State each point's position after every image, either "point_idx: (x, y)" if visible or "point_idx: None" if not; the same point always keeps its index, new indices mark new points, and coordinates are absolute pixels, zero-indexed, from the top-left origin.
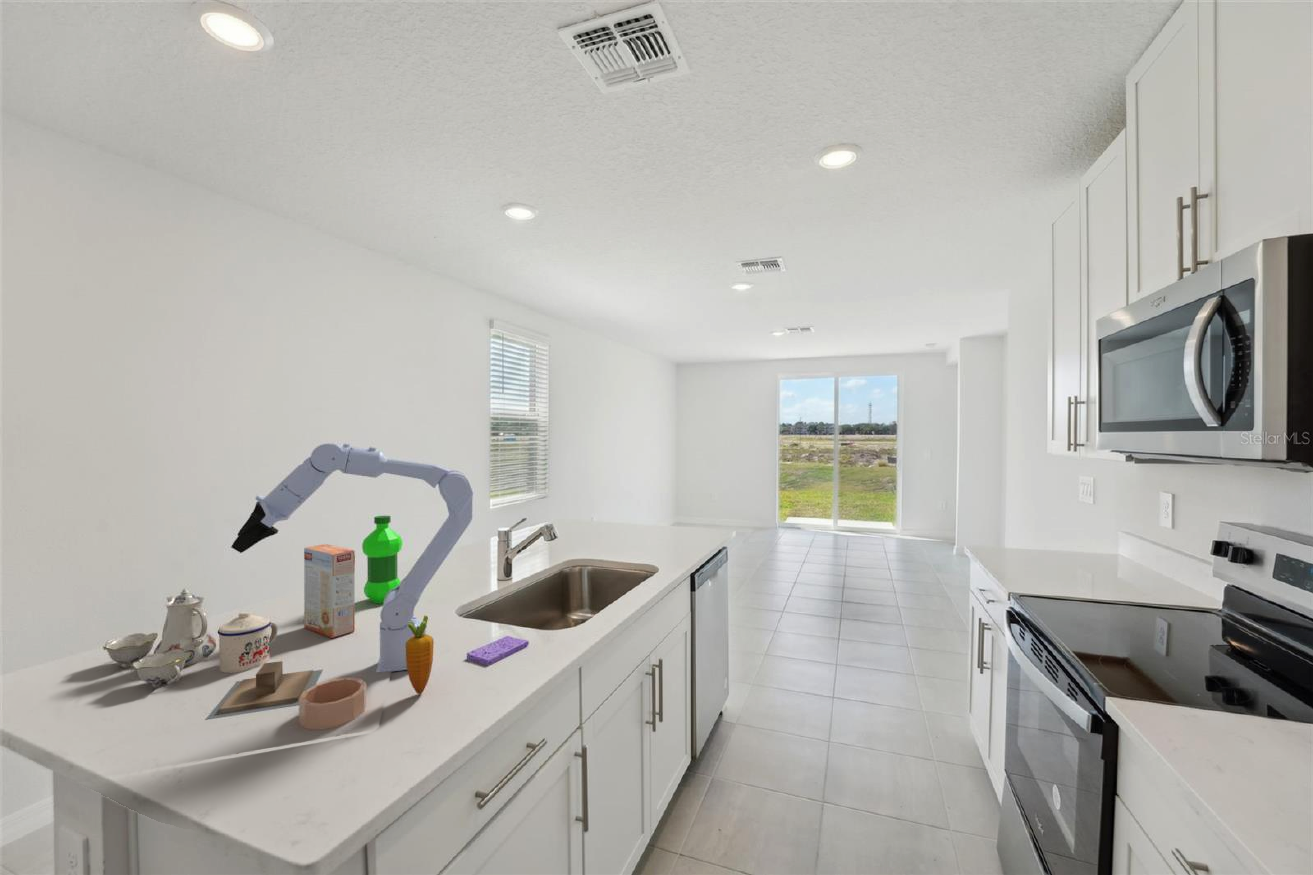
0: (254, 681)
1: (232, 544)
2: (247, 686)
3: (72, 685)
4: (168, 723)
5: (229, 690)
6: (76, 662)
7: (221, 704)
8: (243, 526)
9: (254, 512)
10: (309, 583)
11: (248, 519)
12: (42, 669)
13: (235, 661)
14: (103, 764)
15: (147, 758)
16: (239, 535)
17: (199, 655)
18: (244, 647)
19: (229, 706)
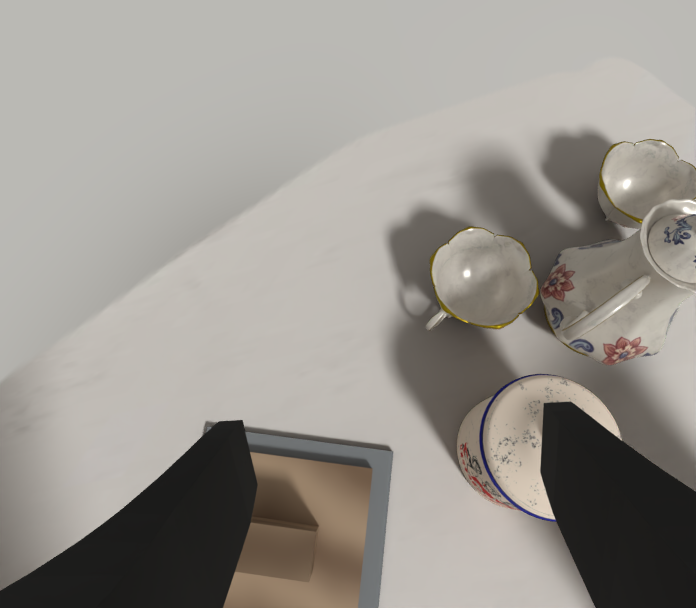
0: (345, 498)
1: (213, 428)
2: (321, 486)
3: (530, 151)
4: (246, 360)
5: (343, 445)
6: (662, 118)
7: (269, 443)
8: (579, 447)
9: (690, 593)
10: None
11: (628, 498)
12: (640, 81)
13: (464, 435)
14: (135, 303)
15: (112, 363)
16: (152, 484)
17: (559, 339)
18: (473, 455)
19: None
